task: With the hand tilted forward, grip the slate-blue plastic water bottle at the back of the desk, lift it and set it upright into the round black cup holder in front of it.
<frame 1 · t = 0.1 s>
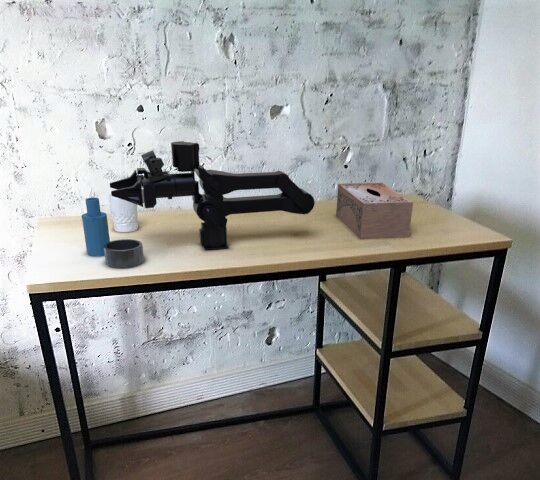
hand: (110, 189, 137), 17 cm above the table, tool horizontal, fingers open, 9 cm apart
tissue box cover: (370, 225, 171), on the table
bottle: (99, 252, 145), on the table
white cup: (126, 229, 165), on the table
cup holder: (125, 262, 139), on the table
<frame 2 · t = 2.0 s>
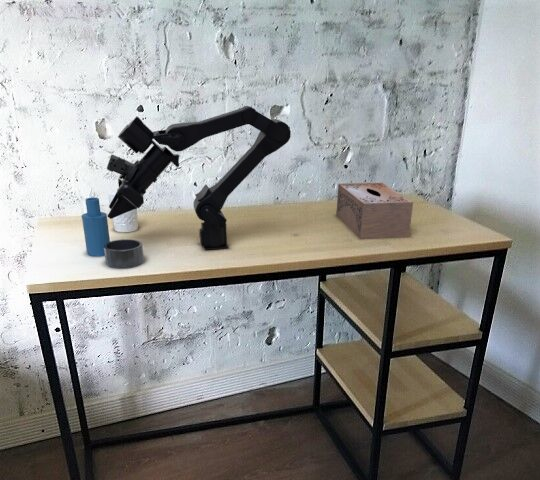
hand: (109, 212, 141), 10 cm above the table, tool tilted 45°, fingers open, 9 cm apart
nothing on the table moved.
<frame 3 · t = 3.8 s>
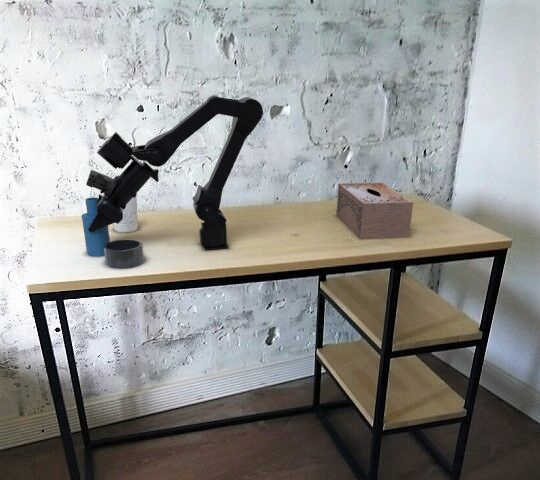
hand: (90, 227, 142), 7 cm above the table, tool tilted 45°, fingers closed on bottle, 6 cm apart
bottle: (99, 252, 145), on the table, touching gripper
everything else where it was.
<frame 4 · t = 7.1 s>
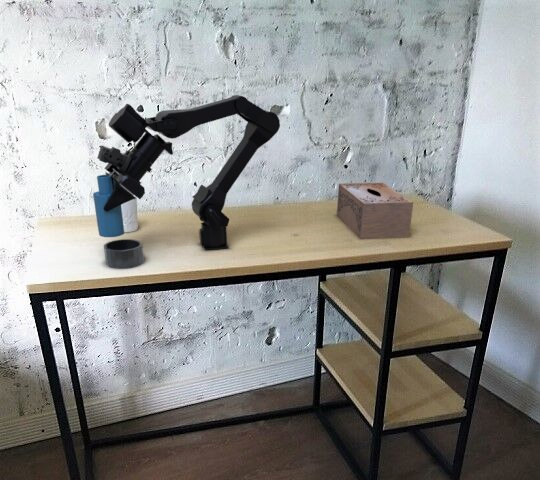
hand: (102, 207, 135), 13 cm above the table, tool tilted 45°, fingers closed on bottle, 6 cm apart
bottle: (111, 233, 138), point 7 cm above the table, touching gripper
everything else where it was.
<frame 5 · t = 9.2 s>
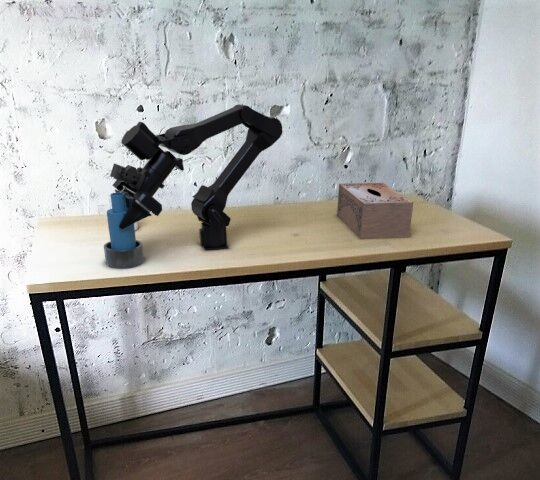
hand: (115, 224, 134), 10 cm above the table, tool tilted 45°, fingers closed on bottle, 6 cm apart
bottle: (124, 250, 138), point 3 cm above the table, touching gripper
everything else where it was.
when the fingers open (7 cm above the table, at t = 10.6 s): bottle stays where it is, resting on cup holder.
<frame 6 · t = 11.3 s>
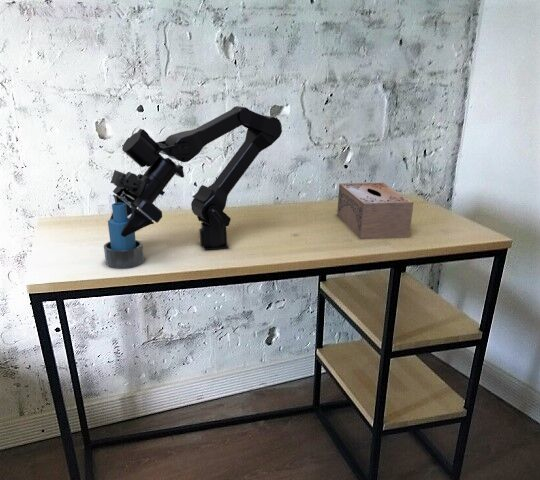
hand: (115, 230, 135), 8 cm above the table, tool tilted 45°, fingers open, 9 cm apart
bottle: (125, 260, 139), resting on cup holder
everything else where it was.
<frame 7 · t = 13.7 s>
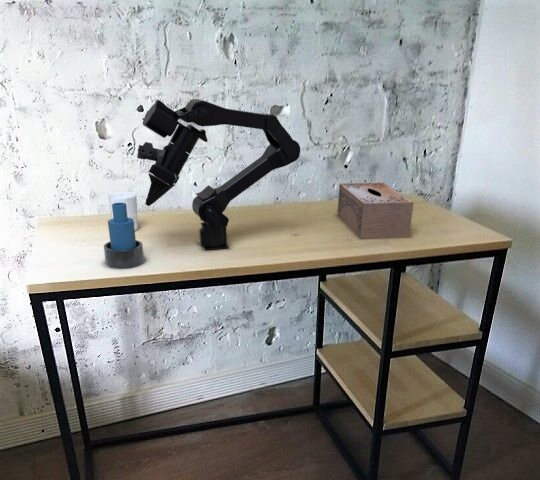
hand: (148, 204, 140), 13 cm above the table, tool tilted 35°, fingers open, 9 cm apart
nothing on the table moved.
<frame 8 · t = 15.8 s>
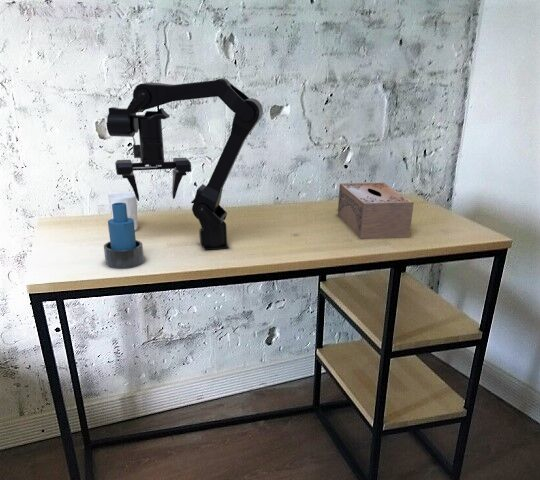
hand: (156, 199, 147), 12 cm above the table, tool pointing down, fingers open, 9 cm apart
nothing on the table moved.
at the end: bottle 0.1 cm off-centre in the cup holder, point 0.5 cm above the cup holder's base; bottle tilted 0°; the gripper is holding nothing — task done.
